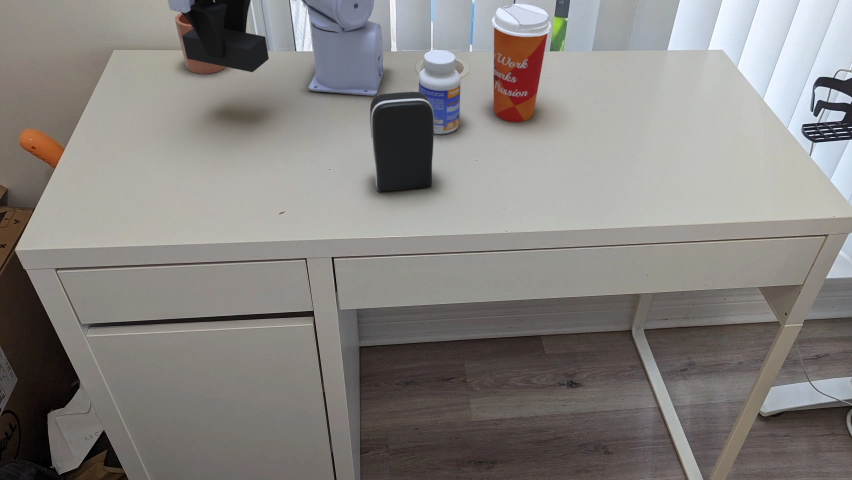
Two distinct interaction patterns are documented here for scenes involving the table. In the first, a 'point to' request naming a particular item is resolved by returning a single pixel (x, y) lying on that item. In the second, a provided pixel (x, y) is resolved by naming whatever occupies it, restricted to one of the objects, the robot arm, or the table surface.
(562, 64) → the table surface
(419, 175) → the battery charger
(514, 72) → the paper cup
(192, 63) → the terracotta cup
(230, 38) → the black block
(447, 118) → the pill bottle
